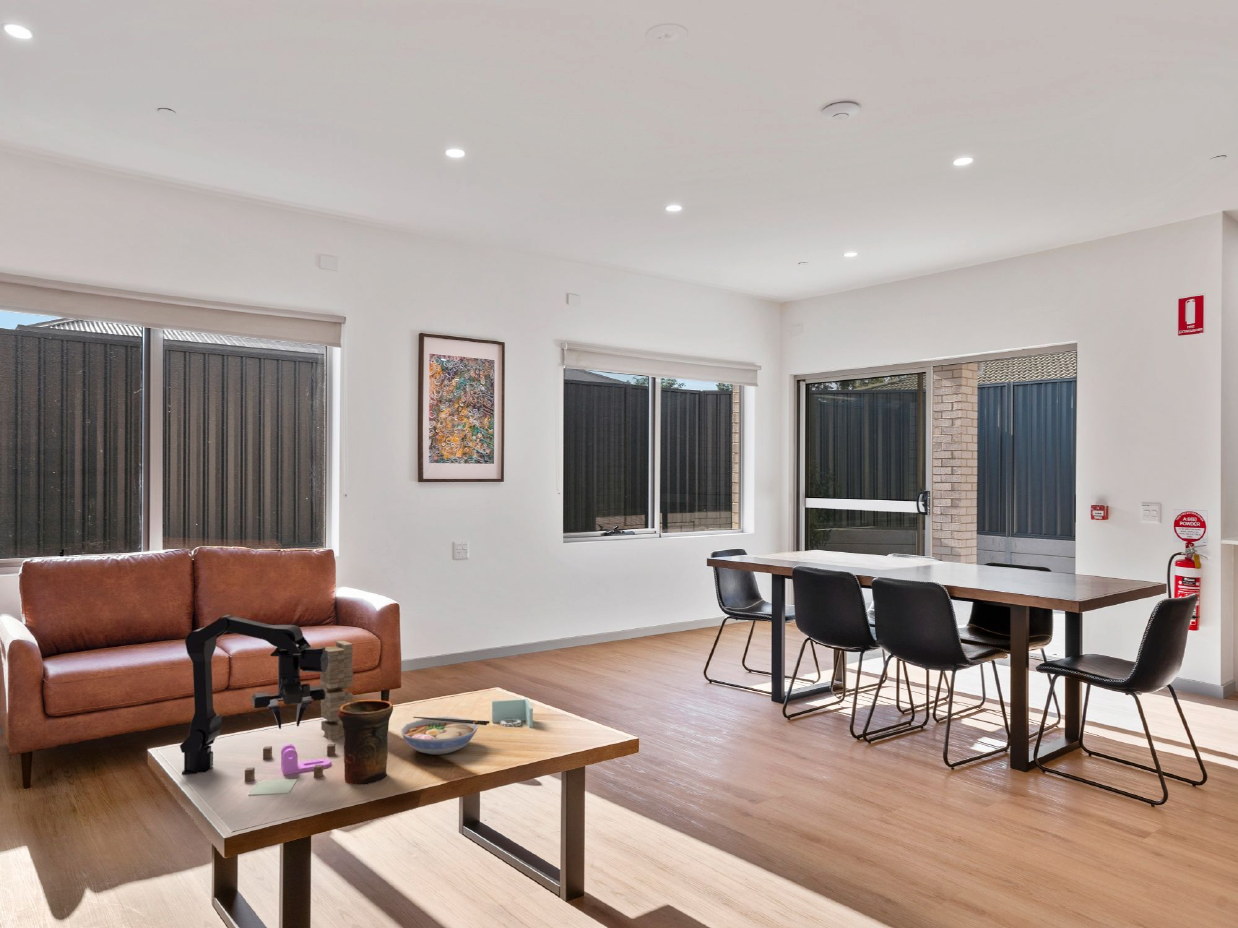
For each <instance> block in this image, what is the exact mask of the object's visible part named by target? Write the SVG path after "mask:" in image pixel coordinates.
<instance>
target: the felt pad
mask: <svg viewBox="0 0 1238 928" xmlns="http://www.w3.org/2000/svg"><path fill="white" fill-rule="evenodd" d="M298 780H299V779H298V778H289V779H268V780H267V779H265V780H264V779H262V780H259V781H257V783H255V785H254V786H253V788H252V789H251V790H250V792H249V793H248V795H247V796H248V797H249V796H250V797H251V796H253V797H254V796H266V795H282V794H283V795H284V794H290V792H291V791H292V789H293V787H294V786H295V785H296V783H297V782H298Z"/></svg>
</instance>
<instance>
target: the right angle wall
mask: <svg viewBox="0 0 1238 928" xmlns="http://www.w3.org/2000/svg"><path fill="white" fill-rule="evenodd" d="M533 711H534V710H533V705H532V704H531V702H530V699H529V698H522V699H521V698H520V699H517V698H516V699H502V700H492V701H491V723H492V722H499V726H500V725H501V726H500V727H509V728H510V727H511V728H518V727H520V726H521V725H522V721H525V723H526V726H527V727H528V729H534V727H533V726H534V725H533V724H534V720H533V719H534V715H533V714H534V713H533Z"/></svg>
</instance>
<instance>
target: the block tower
mask: <svg viewBox="0 0 1238 928" xmlns="http://www.w3.org/2000/svg"><path fill="white" fill-rule="evenodd" d="M325 652H326V653H327V655H328V658H329V661H328V667H327V670H326V671H325V672H319V674H320V676H319V678H320V679H319V680H320V681H319V682H320V684H319V686H321V687H322V688H323V689H324V690H325V699H323V700H320V717H321V718H323V719H324V720H321V724H320V725H321V726H320V730H321V731H322V732H324V733H323V735H324V737H325V738H326V739H328V740H329V741H334V740H339V739H342V738H343V739H344V728H343V724H342V721H341V720H340V718H339V716H338V712H339V709H340V707H341V706H343V705H345V704H347V703H350V702H351V703H352V702H354V694H353V693H351V692H349V691H347V690H346V689H350V688H351V686H353V685H354V679H353V678H354V677H353V676H354V672H353V668H354V667H353V652H354V648H353V643H351V642H349V641H345V640H338V641H335V645H334V646H327V647H325Z"/></svg>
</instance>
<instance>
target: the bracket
mask: <svg viewBox="0 0 1238 928" xmlns="http://www.w3.org/2000/svg"><path fill="white" fill-rule="evenodd" d="M298 756H299V755H298V751H297V750H296V747H295V746H294V745H293V744H292V743H287V744H285V745H283V746H282V748H281V751H280V759H281V760H280V761H281V762H280V763H281V765H280V766H281V767H280V769H281V773H282V775H283V776H286V775H287V776H288V775H291V774H298V773H303V772H310V771H314V766H315V765H323V769H327V768H329V767H330V766H331V765H332V760H331V759H328V758H320V759H313V760H305V761H298V759H299V758H298Z"/></svg>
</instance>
